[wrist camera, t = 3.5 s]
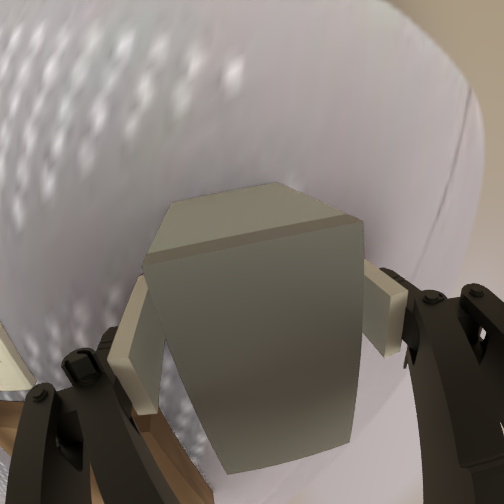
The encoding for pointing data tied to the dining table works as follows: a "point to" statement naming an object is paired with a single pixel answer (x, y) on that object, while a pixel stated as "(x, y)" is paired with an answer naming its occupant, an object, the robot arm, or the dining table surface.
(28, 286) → the dining table surface
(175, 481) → the walnut stand
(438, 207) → the dining table surface
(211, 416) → the block
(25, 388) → the external hard drive
